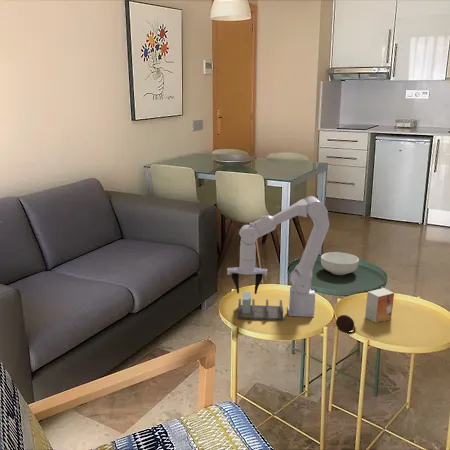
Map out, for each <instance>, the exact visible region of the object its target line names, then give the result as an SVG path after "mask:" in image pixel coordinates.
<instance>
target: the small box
mask: <svg viewBox="0 0 450 450" xmlns="http://www.w3.org/2000/svg"><path fill="white" fill-rule="evenodd" d="M394 297H395V292H393V291H391V290H389V289H387V288H385V287H382V288H378V289H374V290H370V291H367V294H366V305H365V316H364V317H365V318H366V319H367V318H368V320H369V321H370V322H373V323H374V322H375V324H377V322H378V323H381V322H385V321H388V319H390V320H391V319H392V315H393V305H394ZM384 320H385V321H384ZM380 321H381V322H380Z"/></svg>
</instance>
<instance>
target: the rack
mask: <svg viewBox="0 0 450 450" xmlns="http://www.w3.org/2000/svg"><path fill="white" fill-rule="evenodd" d="M255 300H256V299H254V298H253V299H252V298H251V302H252V303H251V310H250V315H242V299H241V298H238V305H237V306H238V307H237V309H238V310H237V320H250V321H251V320H254V321H255V320H256V321H261V320H262V321H284V306H283V300H282V299H280V300H279V304H278V305H269V299H265V305H258V304H256V305H255Z"/></svg>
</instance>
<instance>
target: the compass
mask: <svg viewBox="0 0 450 450" xmlns="http://www.w3.org/2000/svg"><path fill="white" fill-rule="evenodd" d="M333 327H337V329H338V330H339V331H340V332H341V333H344V334H345V333H346V334H350V333H349V331H351V330H355V329H356V330H357V328H356V326H355V321H354V319H352V317H350V316H349V315H348V314H343V315H339V316H338V317H337V318H336V321H335V323H333ZM356 330H355V331H356Z"/></svg>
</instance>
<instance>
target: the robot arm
mask: <svg viewBox="0 0 450 450" xmlns="http://www.w3.org/2000/svg"><path fill="white" fill-rule="evenodd" d="M328 213H329V212H328V209H327V206H325V204H324V203H323V202H321V201H320V200H319V198H317V196H313V195H309V196H307V197H305V198H302V199H300V200H298V201H296V202H295V203H293V204H292V205H290V206H288V207H286V208H284V209H283V210H281V211H280V212H278V213H276V214H275V215H268V214H267V215H261V218H259V219H258V220H255V221H254V222H249V224H243V225H242V226H241V227H240V229H239V231H238V235H239V236H240V242H239V244H240V245H239V267H227V269H226V271H227V273H226V275H227V276H230V275H231V278H232V281H233V283H234V286H235V288H236V294H240V284H239V283H240V280H239V278H240V277H239V276H240V275H246V276H247V275H250V276H252V275H253V276H254V275H255V279H254V280H255V284H254V294H255V295H256V294H257V293H258V289H259V286H260V284H261V282H262V280H263V276H265V277H267V276H268V269H267V268H262V267H261V268H260V267H256V250H257V248H256V247H257V246H256V241H257V240H258V238H261V237H263V236H265V235H267V234H268V233H269V234H270V233H271V232H273V231H275V230H276V228H277V226H278V225H279V224H281V223H283V222H286V221H288V220H290V219H293V218H295V217H297V216H298V217H303V218H308V216H309V217H310V219H311V221H312V222H313V227H312V229H311V232H310V235H309V236H308V240H307V242H306V245H305V247H304V250H303V252H302V256H301V257H300V260H299V263H297V264H296V265H295V267H294V269H293V270H292V271H291V272H290V273H289V281H290V282H291V286H290V287H289V302H288V303H289V305H287V307H286V308H287V314H288V316H289V317H308V318H309V317H312V318H314V317H315V309H316V292H315V290H314V289H311V288H312V278H313V269H314V266H315V264H316V262H317V259H318V256H319V253H320V251H321V249H322V245H323V244H324V241H325V239H326V235H327V233H328V230H329V228H330V225H331V224H330V219H329V214H328Z"/></svg>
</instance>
